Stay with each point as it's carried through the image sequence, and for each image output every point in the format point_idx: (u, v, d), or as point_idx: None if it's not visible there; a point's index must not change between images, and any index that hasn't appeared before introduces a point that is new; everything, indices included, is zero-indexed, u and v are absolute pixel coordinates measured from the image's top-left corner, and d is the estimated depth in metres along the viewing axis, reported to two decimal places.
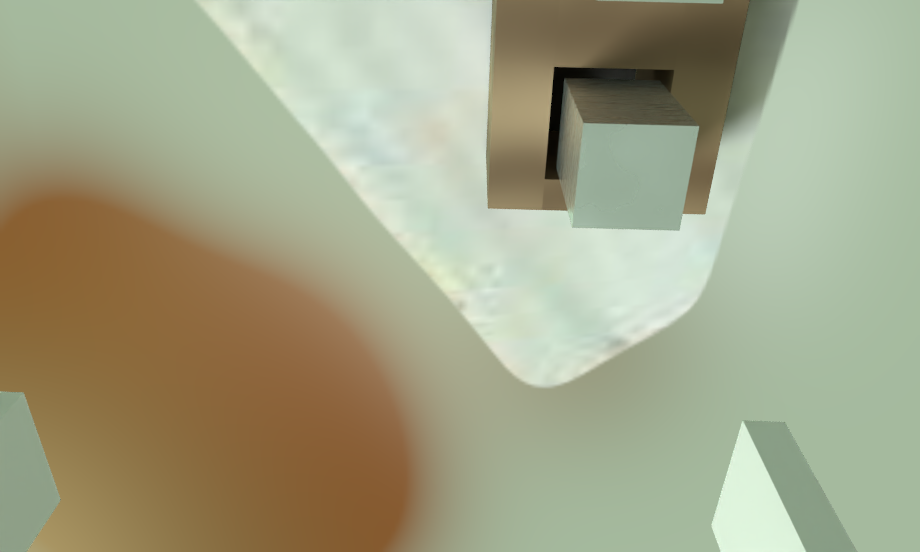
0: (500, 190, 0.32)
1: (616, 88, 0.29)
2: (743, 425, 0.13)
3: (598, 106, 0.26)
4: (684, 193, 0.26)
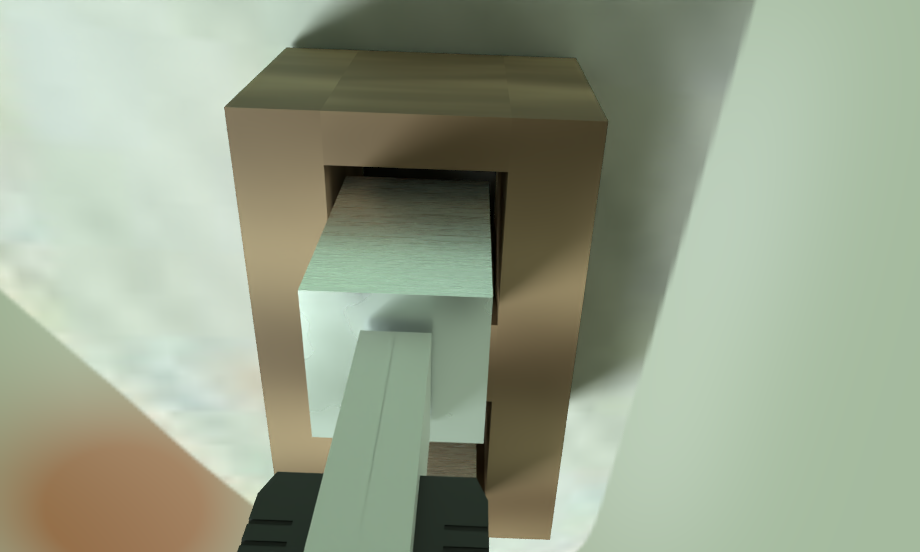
0: None
1: None
2: (395, 335, 0.15)
3: None
4: None
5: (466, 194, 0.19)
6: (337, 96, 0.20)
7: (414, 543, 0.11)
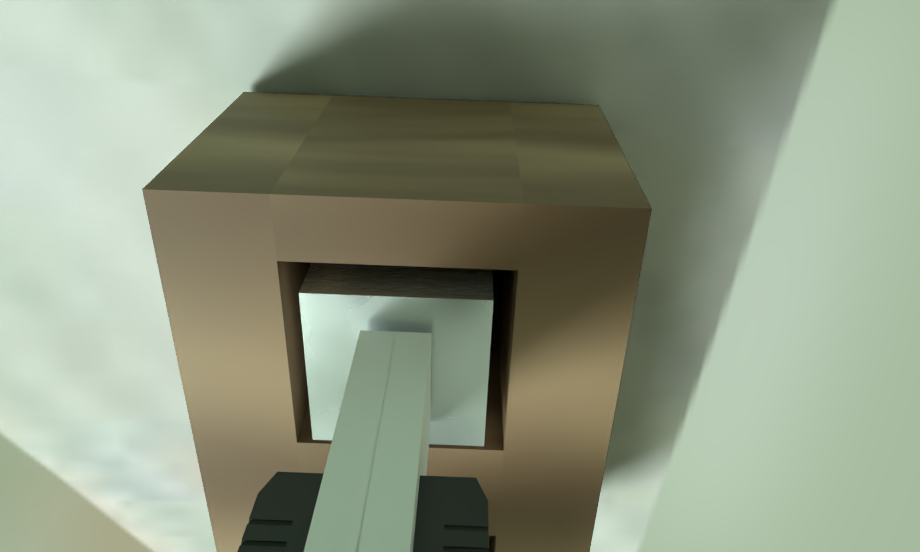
0: None
1: None
2: (395, 335, 0.15)
3: None
4: None
5: None
6: (296, 169, 0.15)
7: (414, 543, 0.11)
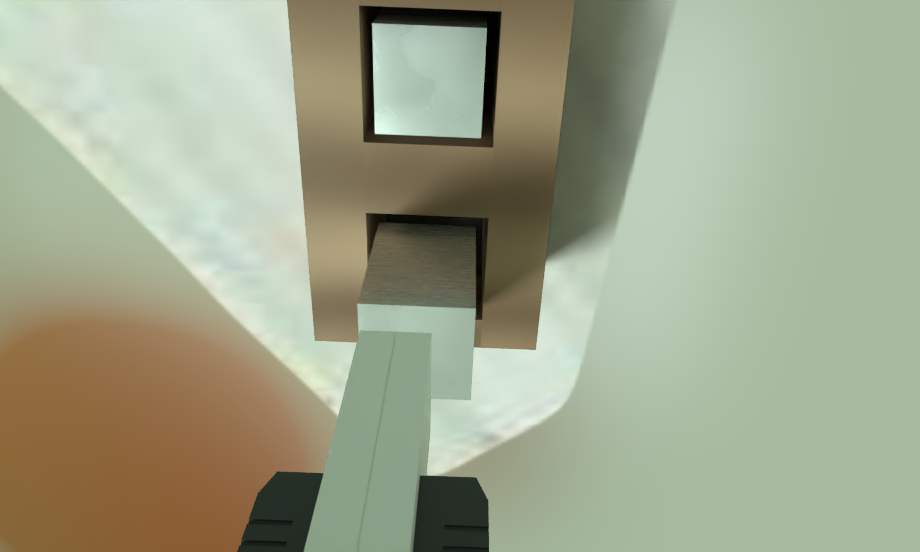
0: (325, 324, 0.32)
1: (423, 240, 0.28)
2: (395, 335, 0.15)
3: (388, 273, 0.26)
4: (470, 367, 0.25)
5: None
6: None
7: (414, 543, 0.11)
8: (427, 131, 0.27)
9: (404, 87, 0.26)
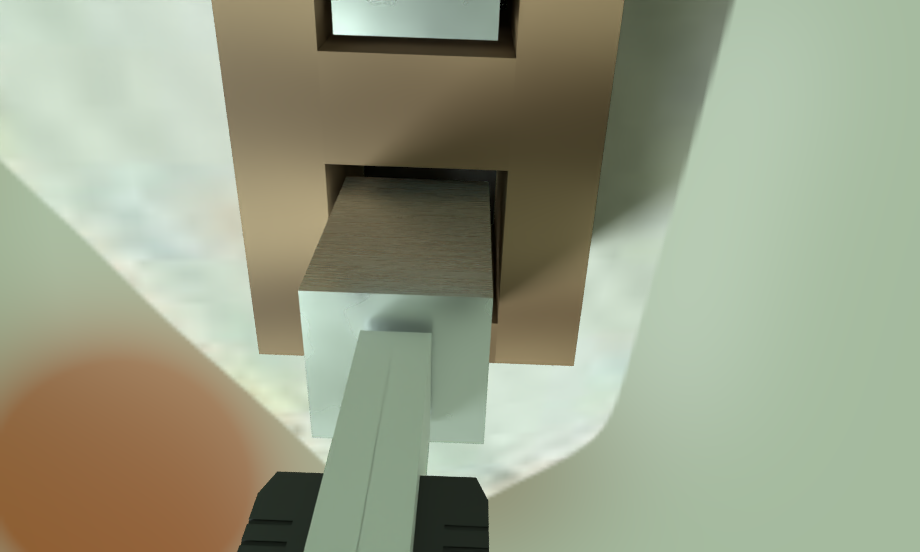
0: (272, 330, 0.22)
1: (411, 200, 0.19)
2: (395, 335, 0.15)
3: (353, 245, 0.16)
4: (483, 393, 0.16)
5: None
6: None
7: (414, 543, 0.11)
8: (414, 29, 0.17)
9: None
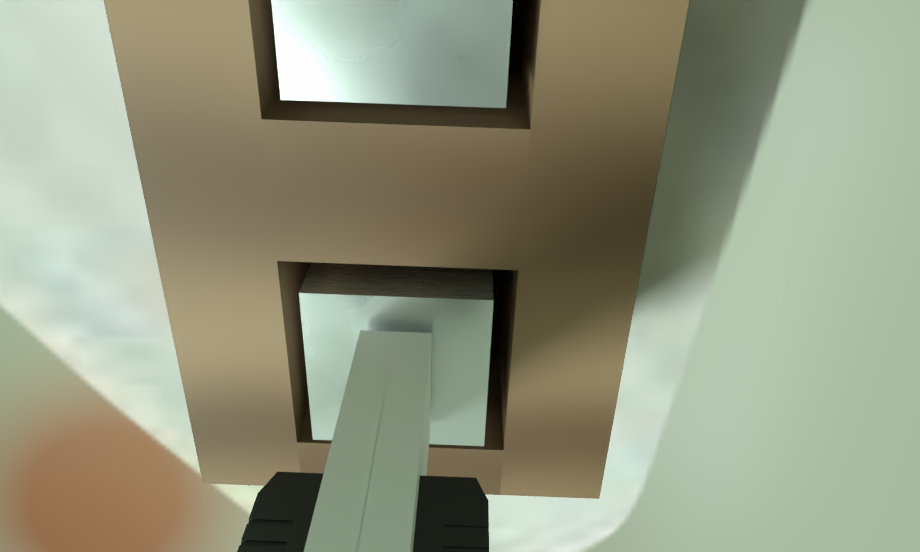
0: (218, 456, 0.17)
1: None
2: (395, 335, 0.15)
3: None
4: (483, 396, 0.16)
5: None
6: None
7: (414, 543, 0.11)
8: (392, 94, 0.13)
9: None
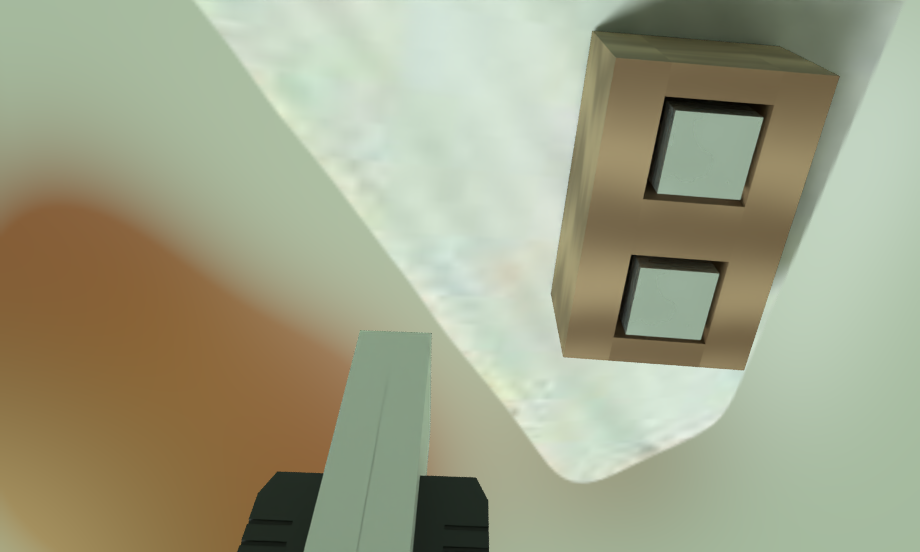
0: (575, 343, 0.38)
1: None
2: (395, 335, 0.15)
3: None
4: (706, 315, 0.37)
5: None
6: (669, 56, 0.33)
7: (414, 543, 0.11)
8: (699, 193, 0.34)
9: (689, 159, 0.33)
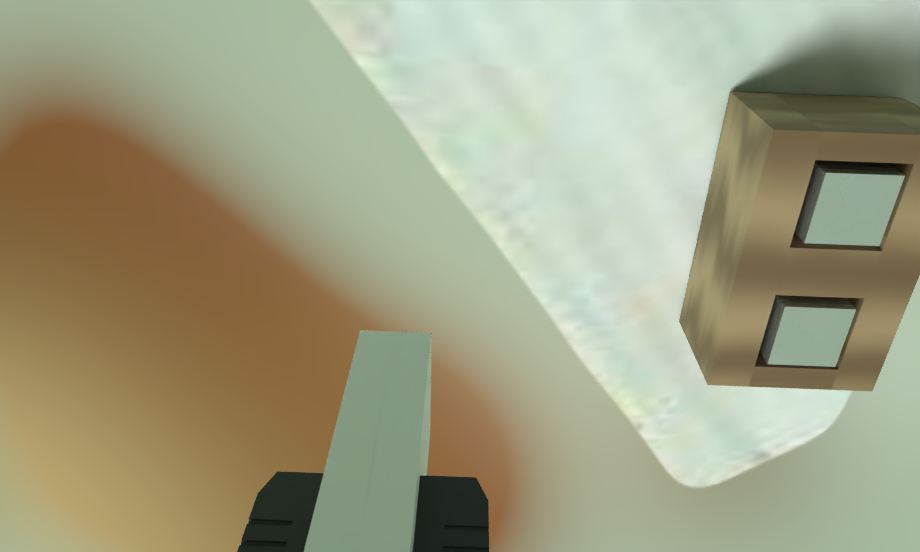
0: (719, 373, 0.43)
1: None
2: (395, 335, 0.15)
3: None
4: (841, 346, 0.41)
5: None
6: (817, 123, 0.36)
7: (414, 543, 0.11)
8: (842, 241, 0.38)
9: (835, 213, 0.37)
